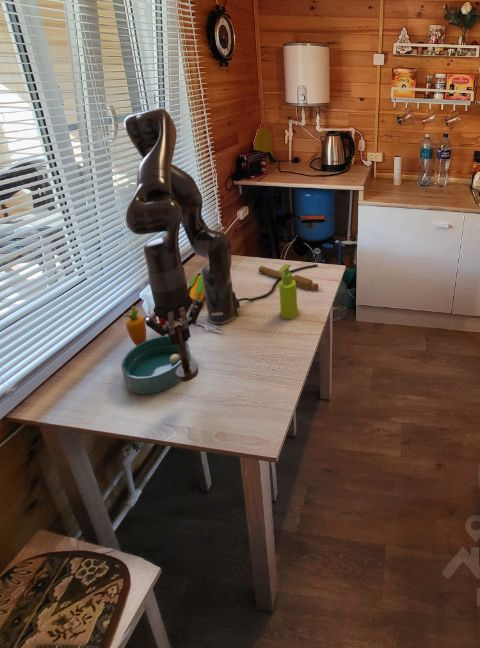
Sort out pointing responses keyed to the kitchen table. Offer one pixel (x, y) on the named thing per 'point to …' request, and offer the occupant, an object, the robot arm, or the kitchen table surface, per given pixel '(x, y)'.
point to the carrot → (136, 327)
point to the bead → (174, 359)
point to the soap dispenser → (287, 294)
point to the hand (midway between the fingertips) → (180, 341)
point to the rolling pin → (299, 280)
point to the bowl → (151, 366)
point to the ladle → (184, 359)
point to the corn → (196, 287)
